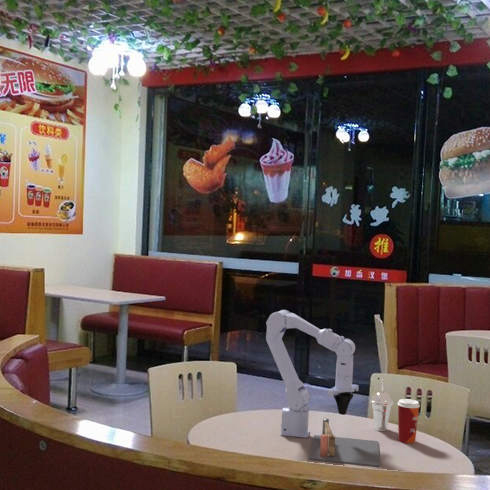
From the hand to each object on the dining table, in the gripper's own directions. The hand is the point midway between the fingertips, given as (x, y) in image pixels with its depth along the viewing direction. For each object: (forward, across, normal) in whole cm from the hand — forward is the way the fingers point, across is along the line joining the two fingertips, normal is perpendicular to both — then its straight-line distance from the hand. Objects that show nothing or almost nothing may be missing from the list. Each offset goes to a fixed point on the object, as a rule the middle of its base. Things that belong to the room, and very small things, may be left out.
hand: (342, 413), depth 231 cm
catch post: (+9, -18, -7) cm, 21 cm away
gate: (+8, -11, -4) cm, 15 cm away
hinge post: (+9, -5, +3) cm, 11 cm away
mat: (+9, -7, -7) cm, 14 cm away
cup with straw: (+10, +23, 0) cm, 25 cm away
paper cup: (+9, +19, -14) cm, 25 cm away
